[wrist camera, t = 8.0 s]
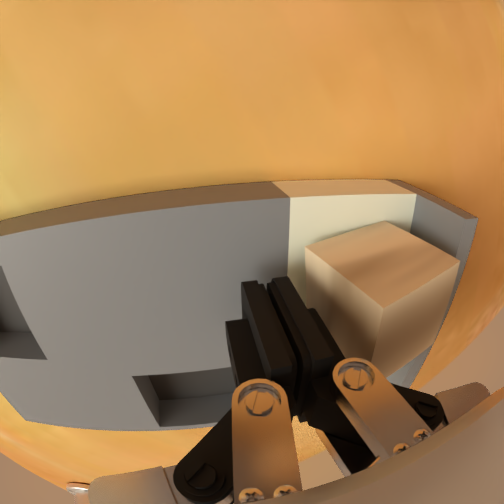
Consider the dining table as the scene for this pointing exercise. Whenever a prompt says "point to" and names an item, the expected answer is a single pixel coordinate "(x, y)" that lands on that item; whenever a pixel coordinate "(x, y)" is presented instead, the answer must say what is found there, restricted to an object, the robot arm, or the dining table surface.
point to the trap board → (173, 291)
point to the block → (380, 292)
